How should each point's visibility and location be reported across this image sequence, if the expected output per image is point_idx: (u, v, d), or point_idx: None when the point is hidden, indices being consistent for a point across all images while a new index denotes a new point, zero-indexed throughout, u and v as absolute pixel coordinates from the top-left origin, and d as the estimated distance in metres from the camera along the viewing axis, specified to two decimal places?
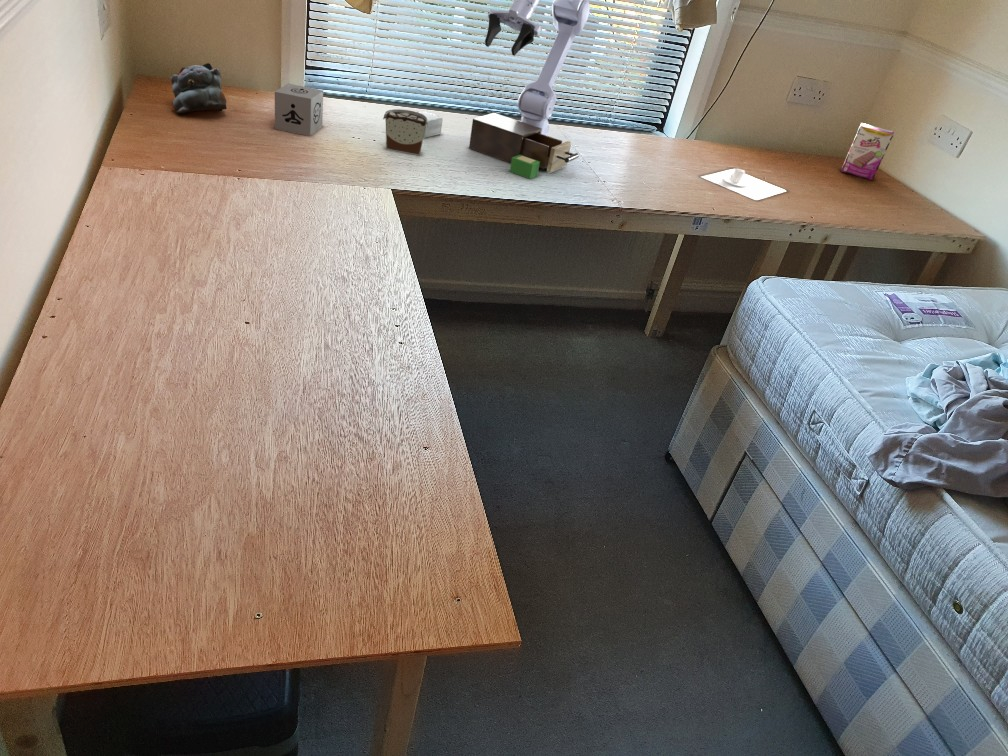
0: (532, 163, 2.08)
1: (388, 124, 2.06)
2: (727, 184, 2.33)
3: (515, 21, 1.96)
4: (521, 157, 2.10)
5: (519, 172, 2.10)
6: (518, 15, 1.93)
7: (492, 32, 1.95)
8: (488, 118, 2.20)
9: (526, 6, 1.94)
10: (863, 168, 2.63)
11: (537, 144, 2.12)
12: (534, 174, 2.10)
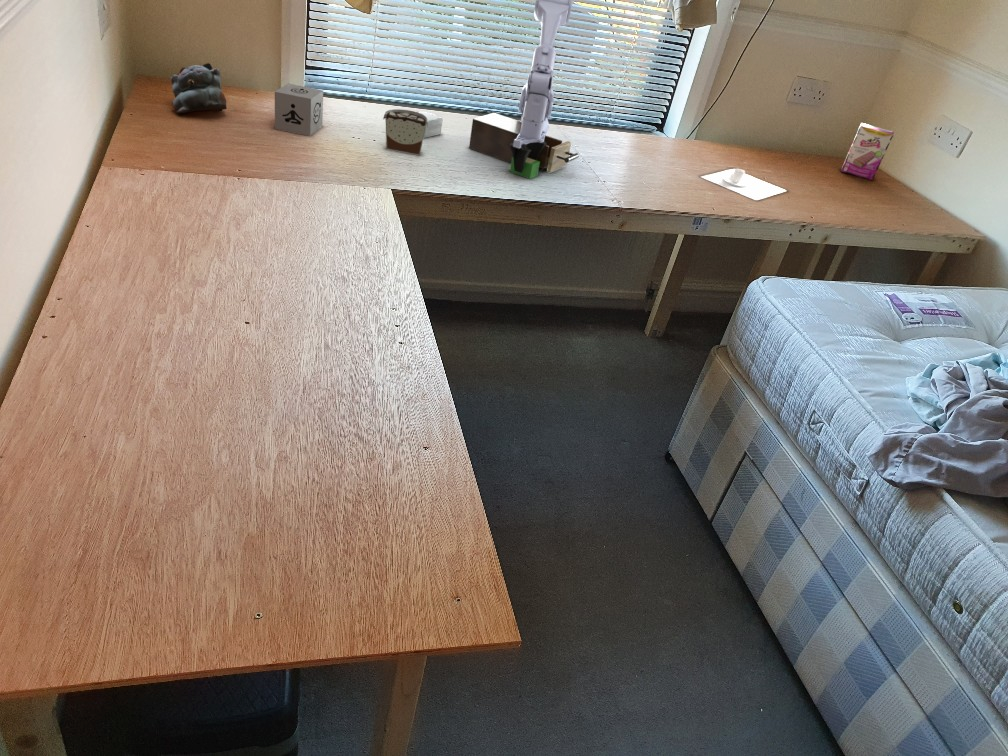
0: (532, 163, 2.08)
1: (388, 124, 2.06)
2: (727, 184, 2.33)
3: None
4: None
5: (519, 172, 2.10)
6: None
7: None
8: (488, 118, 2.20)
9: None
10: (863, 168, 2.63)
11: None
12: (534, 174, 2.10)
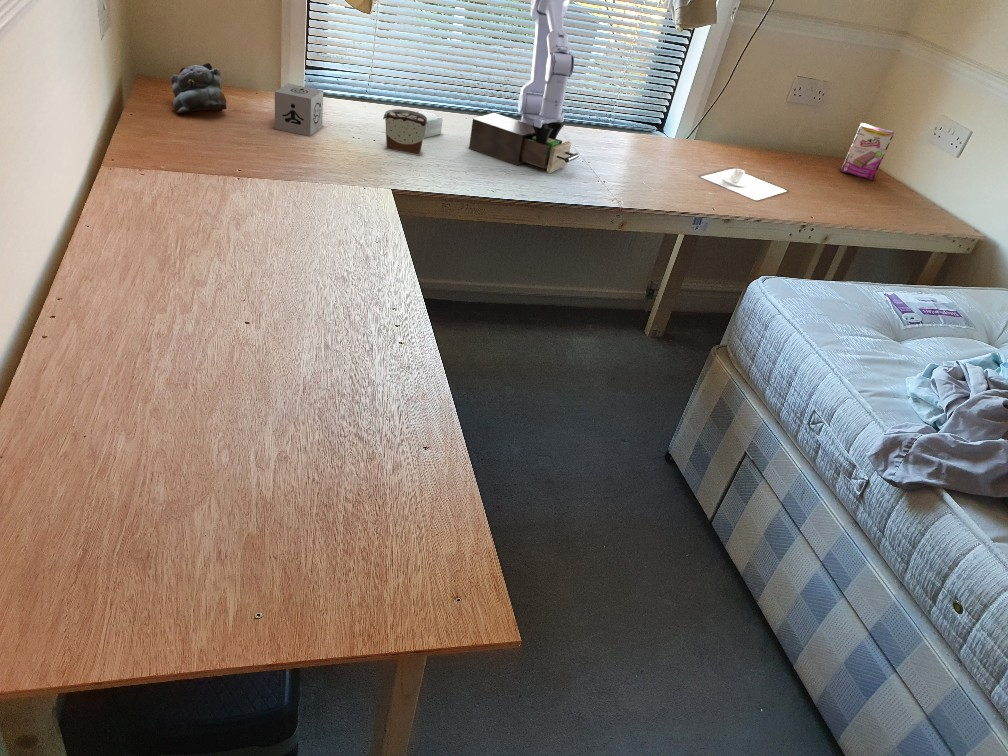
0: (552, 142, 2.13)
1: (388, 124, 2.06)
2: (727, 184, 2.33)
3: None
4: None
5: None
6: None
7: None
8: (488, 118, 2.20)
9: None
10: (863, 168, 2.63)
11: (537, 144, 2.12)
12: None
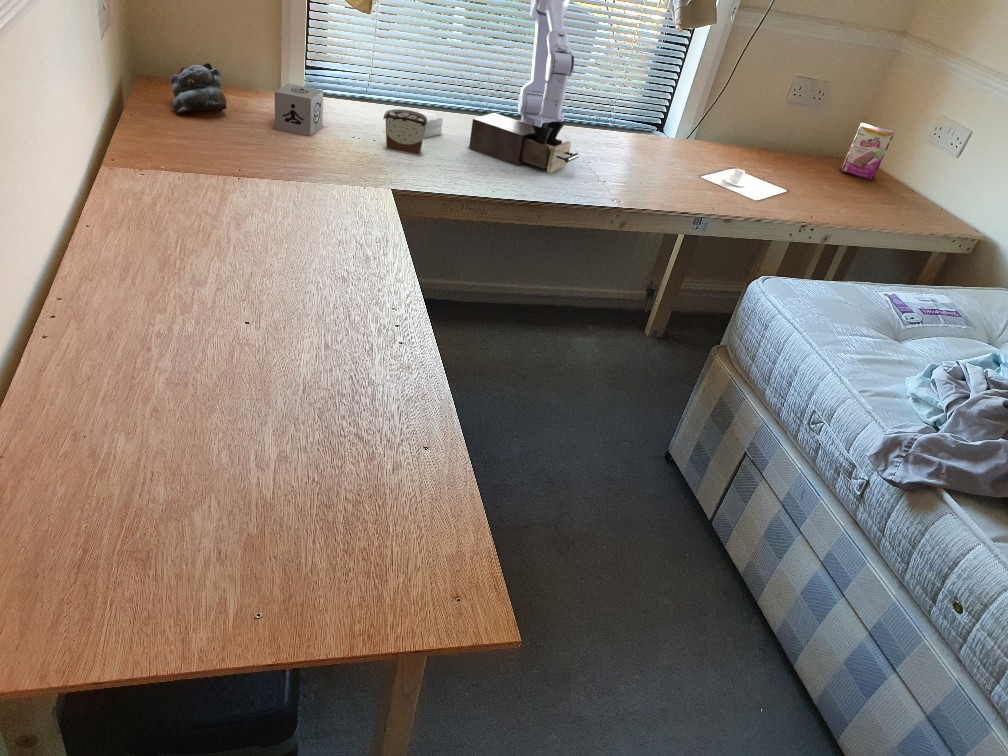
0: None
1: (388, 124, 2.06)
2: (727, 184, 2.33)
3: None
4: None
5: None
6: None
7: None
8: (488, 118, 2.20)
9: None
10: (863, 168, 2.63)
11: (537, 144, 2.12)
12: None
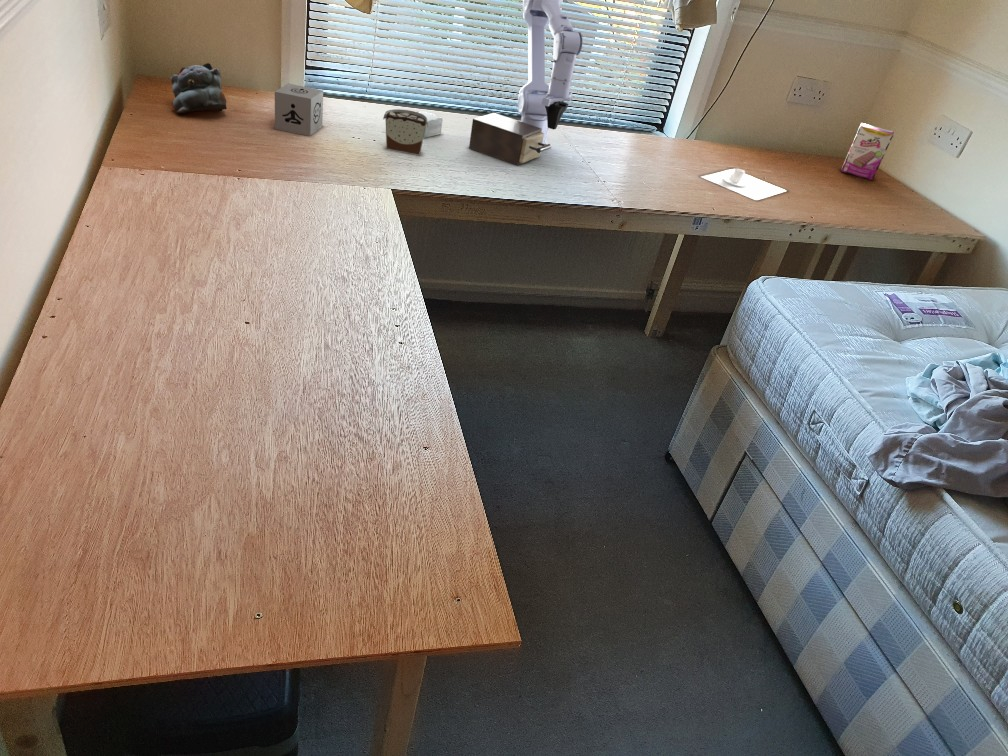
0: None
1: (388, 124, 2.06)
2: (727, 184, 2.33)
3: None
4: None
5: None
6: None
7: None
8: (488, 118, 2.20)
9: None
10: (863, 168, 2.63)
11: None
12: None
